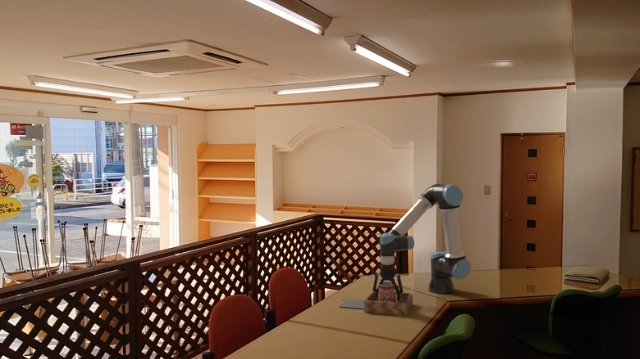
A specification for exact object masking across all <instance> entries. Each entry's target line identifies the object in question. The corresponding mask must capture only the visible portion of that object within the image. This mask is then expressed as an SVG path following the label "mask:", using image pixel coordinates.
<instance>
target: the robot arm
mask: <svg viewBox="0 0 640 359" xmlns="http://www.w3.org/2000/svg"><path fill="white" fill-rule="evenodd" d="M463 200H464V194H463V191H462V189H461V188H460V187H459V186H458V185H455V184H451V183H434V184H432V185H431V186H429V187H428V188H426V189H425V190H424V191H423V192H422V193H421V194H420V195H419V197H418V200H417V201H416V202H415V203H414V204H413V206H411V207H410V209H409V210H408V211H407V212H405V214H404V215H403V216H402V217H401V218H400V220H399V221H397V223H396V224H395V225H394V226H393V227H392V228H391V229H390V230H389V231H388V232H384V233H382V234H380V237H379V248H380V249H379V250H380V251H379V252H380V253H379V254H380V255H379V256H380V258H379V259H380V271H379V272H375V273H374V282H373V286H372V291H375V292H376V298H378V301H380V300H379V286H378V281H379V277H381V279H380V284H379V285H382V284H383V282H384V281H388V282H391V283H392V284H393V285H394V284H395V292H396V294H395V296H396V303H398V300H399V299H400V293H404V287H403V284H402V280H401V277H402V274H401V273H396V272H395V271H396V268H395V261H396V260H395V258H396V257H395V252H401V251H410V250H413V249H414V247H415V240H414V237H412V236H410V235H406V234H407V233H408V232H409V231H410V230H411V228H413V226H414V225H415V224H416V223H417V222H418V221H419V220H420V218H421V217H423V215H424V214H425V213H426V212H427V211H428V210H429V209H432V208H433V207H434V206H435V205H438V210H439V211H440V212H441V213H442V221H443V222H442V223H443V224H442V225H443V231H444V240H445V251H437V252H432V253H431V254H430V272H431V273H430V280H429V284H428V291H429V292H431V293H435V294H442V295H443V294H444V295H445V294H452V293H454V292H455V290H456V289H455V284H454V282H453V280H452V278H453V279H456V280H457V279H458V280H463V279H465V278H467V277H468V275H469V274H470V272H471V269H472V264H471V262H470V261H469V260H468V259H466V258H467V257H466V256H467V255H466V253H465V252H464V251H463V247H462V239H461V238H462V237H461V231H460V230H461V229H460V220H459V211H458V210H460V208H461V203H462V202H463ZM395 278H396V280H397V283H396V280H395ZM397 284H398V286H399V289H398V287H397Z"/></svg>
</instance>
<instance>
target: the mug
mask: <svg viewBox="0 0 640 359" xmlns="http://www.w3.org/2000/svg"><path fill="white" fill-rule="evenodd" d="M380 282H381V281H380ZM380 282H377V287H378V286H379V300H380V301H381V302H395V300H396V296H394V292H396V290H395V284H394V285H393V284H392V283H391V281H388V280H387V281H384V282H383V284H382V285H379V284H380ZM396 285H397V284H396ZM397 287H398V289H399V285H397ZM399 290H400V289H399ZM395 294H396V293H395Z"/></svg>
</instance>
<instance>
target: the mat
mask: <svg viewBox="0 0 640 359" xmlns="http://www.w3.org/2000/svg"><path fill="white" fill-rule="evenodd" d="M364 300H365V299H364ZM364 300H363V299H352V298H351V299H350V298H347V299H345V301H344V302H342V303H341V304H340V305H339V308H341V309H342V308H343V309H352V310H353V309H355V310H364Z"/></svg>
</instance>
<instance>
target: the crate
mask: <svg viewBox="0 0 640 359" xmlns="http://www.w3.org/2000/svg"><path fill="white" fill-rule="evenodd" d="M395 293H396V291H394V296H395ZM413 298H414V297H413V292H403V293H400V299H399V300H398V303H396V300H395V302H381V301H378V298H376V292H375V291H373V290H372V291H371V292H370V293H369V295H367V297H366V298H365V299H364V309H363V312H364V313H371V314H381V315H382V314H384V315H392V316H393V315H396V316H405V317H406V316H407V315H408V313H409V311H410V309H411V308H412V306H413V303H414V299H413Z"/></svg>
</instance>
